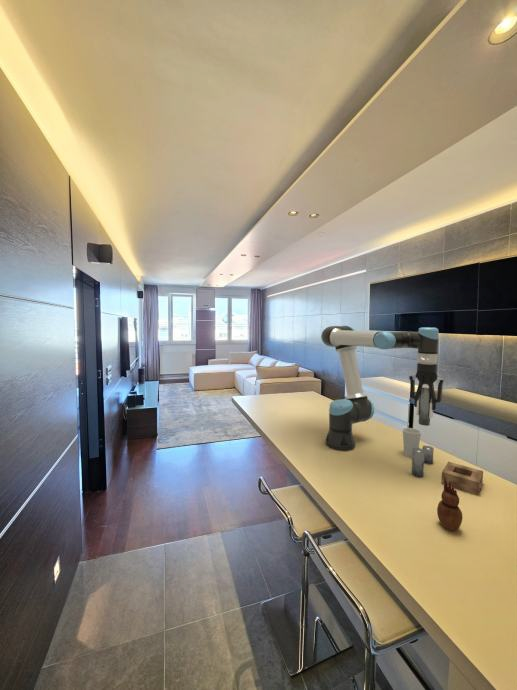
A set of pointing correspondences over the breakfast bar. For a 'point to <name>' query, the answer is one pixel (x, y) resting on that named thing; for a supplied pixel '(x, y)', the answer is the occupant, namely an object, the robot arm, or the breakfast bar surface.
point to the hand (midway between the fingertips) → (424, 415)
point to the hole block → (463, 477)
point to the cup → (410, 440)
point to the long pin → (424, 406)
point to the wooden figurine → (449, 508)
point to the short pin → (428, 454)
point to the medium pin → (418, 462)
